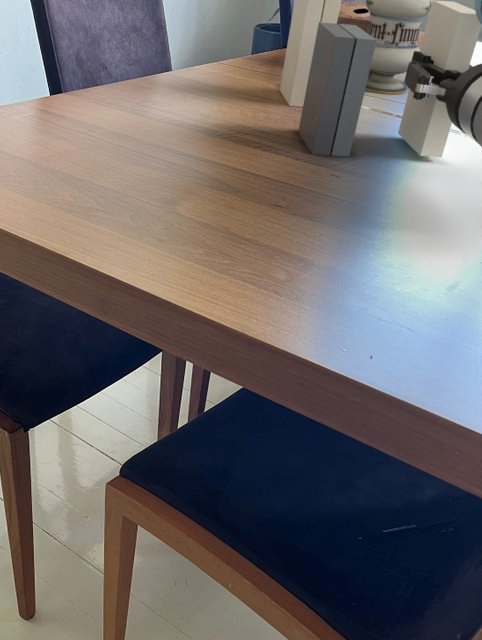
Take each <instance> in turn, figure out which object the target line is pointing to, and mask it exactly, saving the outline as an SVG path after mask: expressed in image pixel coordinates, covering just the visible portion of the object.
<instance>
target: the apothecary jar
mask: <svg viewBox="0 0 482 640" xmlns="http://www.w3.org/2000/svg"><path fill="white" fill-rule="evenodd" d="M432 1H433V0H365V4H366V5H367V8H368V9H369V10H370V16H369V21H368V26H367V30H366V33H367V34H369V35H370V36H372V37H373V38H375V39H376V40H377V41H376V45H375V50H374V54H373V58H372V62H371V67H370V71H371V72H372V75H371V76H368V79H367V84H366V88H365V92H371V93H376V94H385V95H398V94H399V95H400V94H404V93H406V92H407V86H405V84H402V83H401V82H400V81H399V80H398V79H395V78H394V77H395V76H396V75H401V74H406V73H407V69H408V65H409V62H411V61H412V57H413V53H414V51H420V46H419V45H418V43H419V38H420V34H421V29H422V25H423V21H424V18H425V17H426V16H429V13H430V9H431V5H432Z"/></svg>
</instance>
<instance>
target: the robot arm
mask: <svg viewBox="0 0 482 640" xmlns="http://www.w3.org/2000/svg"><path fill="white" fill-rule="evenodd" d="M474 10H475V12H476V15H477V18H478V20H479V22H480V23H481V24H482V0H474ZM431 57H432V56H426V55H424V54H422V53H421V52H419V51H414V53H413V57H412V61H411V62H409V65H408V69H407V72H405V77H404V81H403V84H404V85H406V87H407V88H408V89H410V90H411V91H412V92H413V93H414V95H413V98H415V99H416V100H420V99H423V98H428V96H429V94H434V95H436V98H437V100H439V101H441V102H444V103H446V108H447V113H448V116H449V118H450V120H451V122H452V124H453V125H454V127H456V128H457V129H458V130H459V131H461V132H462V133H463V134H465V135H467V136H468V137H469V138H470V139H472V140H473V141H474V142H476V144H478V145H479V146H480V147H481V148H482V63H479V64H476V65H471V64H470V65H469V68H468V70H467V71H465V72H459V71H457V70H444V69H442V68H440V67H438V66H436V65H433V63H434V61H433V60H432V59H431Z"/></svg>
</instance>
